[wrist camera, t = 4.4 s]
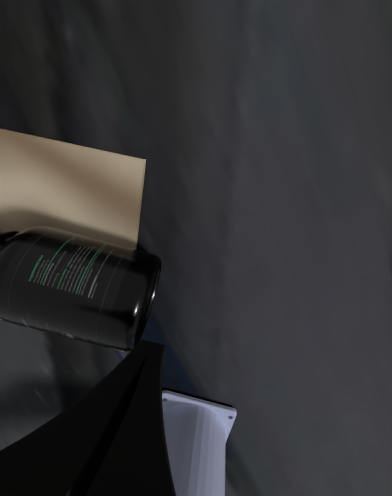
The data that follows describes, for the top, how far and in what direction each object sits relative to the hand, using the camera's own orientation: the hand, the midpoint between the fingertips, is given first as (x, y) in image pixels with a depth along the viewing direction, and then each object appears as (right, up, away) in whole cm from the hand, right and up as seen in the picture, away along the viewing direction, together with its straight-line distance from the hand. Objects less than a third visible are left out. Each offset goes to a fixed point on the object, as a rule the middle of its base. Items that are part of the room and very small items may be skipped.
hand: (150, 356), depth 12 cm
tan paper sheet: (-9, +5, +8) cm, 14 cm away
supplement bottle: (-1, +2, +5) cm, 5 cm away
